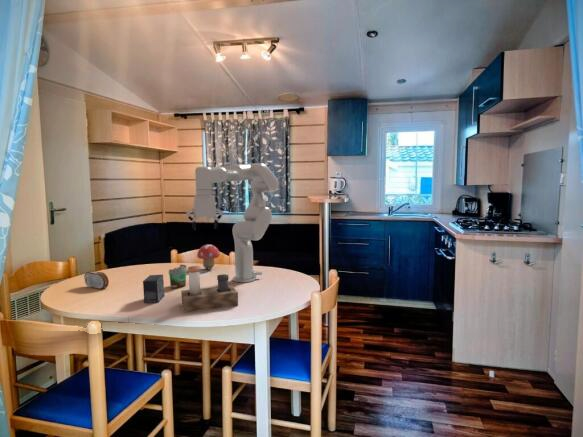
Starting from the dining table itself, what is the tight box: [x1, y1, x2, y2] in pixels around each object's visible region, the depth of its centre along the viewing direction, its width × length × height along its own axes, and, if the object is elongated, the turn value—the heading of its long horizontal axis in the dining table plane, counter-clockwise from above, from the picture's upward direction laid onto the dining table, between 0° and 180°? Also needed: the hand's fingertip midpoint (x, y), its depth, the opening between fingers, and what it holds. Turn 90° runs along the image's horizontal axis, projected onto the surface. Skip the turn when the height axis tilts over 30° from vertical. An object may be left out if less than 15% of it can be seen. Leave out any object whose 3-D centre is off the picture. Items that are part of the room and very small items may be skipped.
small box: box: [142, 274, 165, 304], centre depth 163 cm, size 11×6×10 cm, turn 5°
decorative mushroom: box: [196, 244, 221, 270], centre depth 222 cm, size 13×13×15 cm
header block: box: [181, 284, 239, 313], centre depth 156 cm, size 22×12×6 cm, turn 111°
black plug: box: [216, 273, 230, 292], centre depth 158 cm, size 5×5×12 cm
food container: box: [168, 263, 188, 290], centre depth 185 cm, size 12×6×10 cm, turn 168°
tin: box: [83, 270, 110, 290], centre depth 183 cm, size 15×3×8 cm, turn 65°
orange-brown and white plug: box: [187, 265, 201, 296], centre depth 153 cm, size 5×5×12 cm
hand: (205, 229), depth 172 cm, fingers open, 9 cm apart
